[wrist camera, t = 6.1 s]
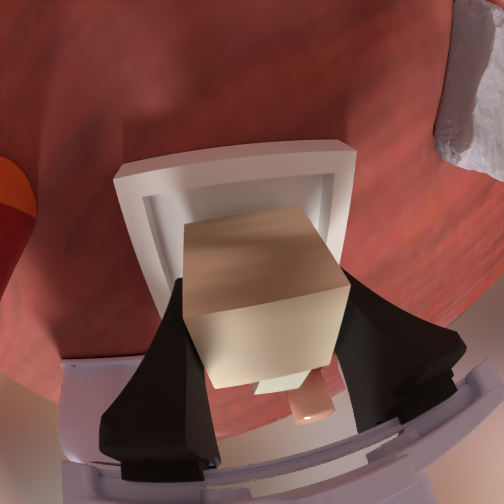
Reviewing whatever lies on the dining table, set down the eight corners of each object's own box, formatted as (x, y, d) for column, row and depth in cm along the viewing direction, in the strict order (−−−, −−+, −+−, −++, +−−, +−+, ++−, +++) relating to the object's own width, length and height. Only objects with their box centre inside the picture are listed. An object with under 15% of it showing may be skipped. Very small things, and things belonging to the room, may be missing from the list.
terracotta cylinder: (281, 387, 27) (293, 427, 23) (283, 371, 25) (297, 416, 21) (316, 378, 28) (330, 416, 24) (322, 361, 25) (339, 404, 22)
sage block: (247, 365, 23) (254, 394, 21) (255, 339, 21) (263, 372, 18) (289, 360, 24) (298, 388, 22) (302, 334, 22) (314, 365, 19)
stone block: (496, 46, 10) (443, -17, 6) (542, 66, 7) (513, -3, 3) (469, 162, 17) (413, 147, 14) (511, 191, 14) (477, 187, 10)
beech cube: (205, 303, 14) (214, 389, 11) (184, 224, 11) (182, 317, 8) (297, 286, 15) (329, 364, 11) (299, 205, 12) (350, 284, 8)
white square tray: (169, 314, 17) (169, 337, 16) (122, 164, 11) (112, 179, 9) (319, 288, 18) (329, 308, 17) (337, 139, 12) (356, 150, 11)
